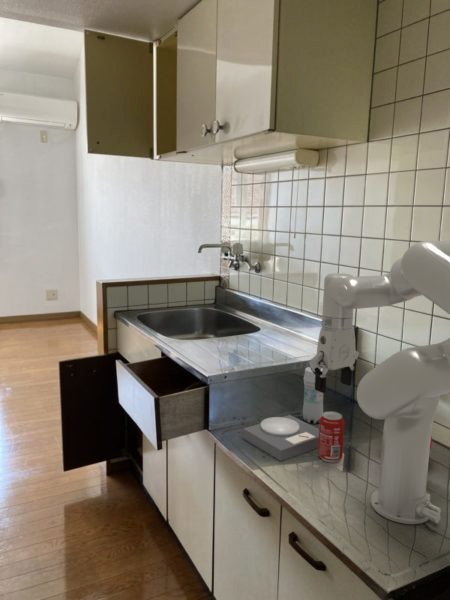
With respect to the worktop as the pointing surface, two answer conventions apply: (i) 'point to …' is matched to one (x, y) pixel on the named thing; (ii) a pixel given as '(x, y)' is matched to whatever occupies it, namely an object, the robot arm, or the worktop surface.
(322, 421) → the beverage can
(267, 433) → the scale
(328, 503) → the worktop surface
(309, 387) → the bottle
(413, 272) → the robot arm
